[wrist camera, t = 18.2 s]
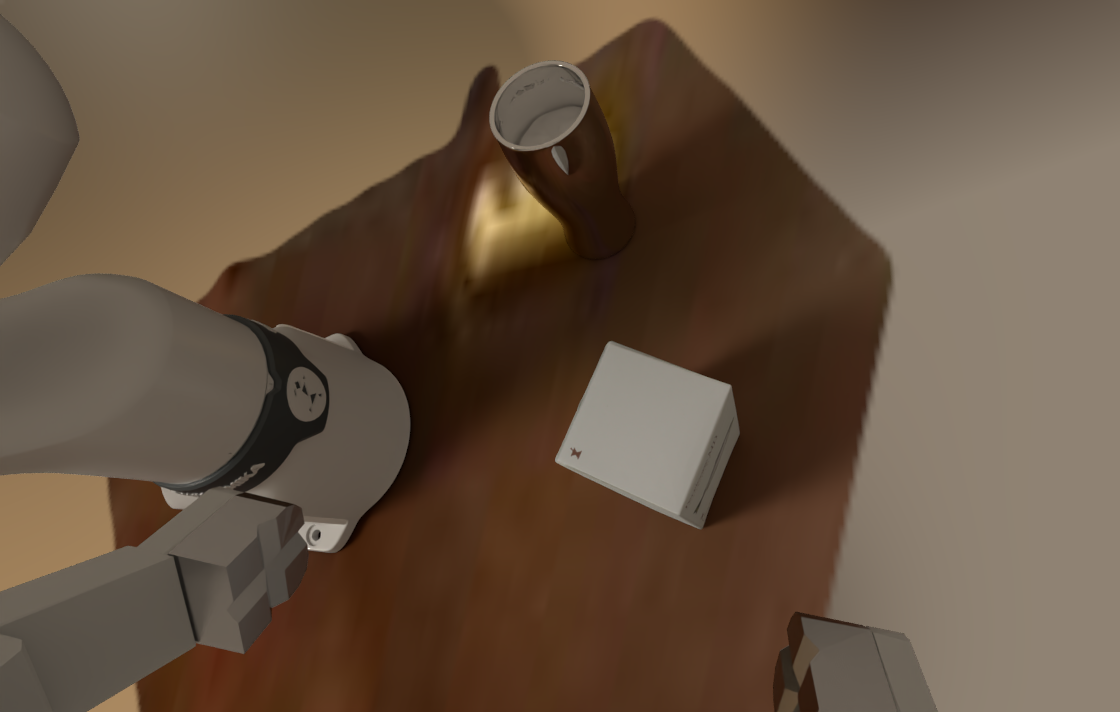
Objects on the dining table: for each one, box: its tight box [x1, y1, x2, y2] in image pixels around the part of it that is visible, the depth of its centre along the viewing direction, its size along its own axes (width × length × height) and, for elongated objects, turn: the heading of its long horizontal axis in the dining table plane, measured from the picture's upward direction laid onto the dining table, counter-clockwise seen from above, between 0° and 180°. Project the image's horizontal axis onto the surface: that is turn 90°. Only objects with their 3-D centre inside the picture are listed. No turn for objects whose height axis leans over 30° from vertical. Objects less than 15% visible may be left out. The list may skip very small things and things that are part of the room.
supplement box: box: [555, 341, 740, 529], centre depth 36 cm, size 7×7×13 cm
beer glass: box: [489, 60, 635, 259], centre depth 43 cm, size 7×7×15 cm
